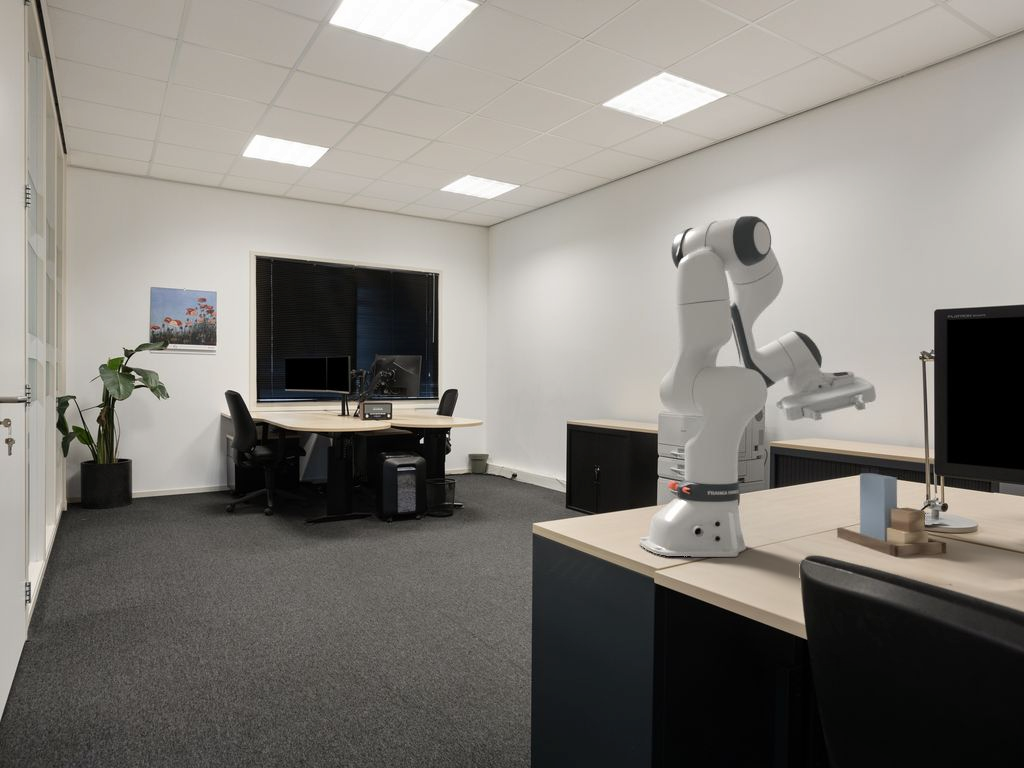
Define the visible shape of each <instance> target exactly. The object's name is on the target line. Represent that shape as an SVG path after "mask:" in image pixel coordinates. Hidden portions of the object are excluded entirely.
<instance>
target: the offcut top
mask: <svg viewBox="0 0 1024 768" xmlns="http://www.w3.org/2000/svg"><path fill="white" fill-rule="evenodd" d="M925 513H926V512H925V510H922V509H917V508H911V507H897V509H891V529H895V530H899V531H904V532H908V533H910V532H918V531H926V530H925V529H926V528H925V527H926V526H925Z"/></svg>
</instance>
